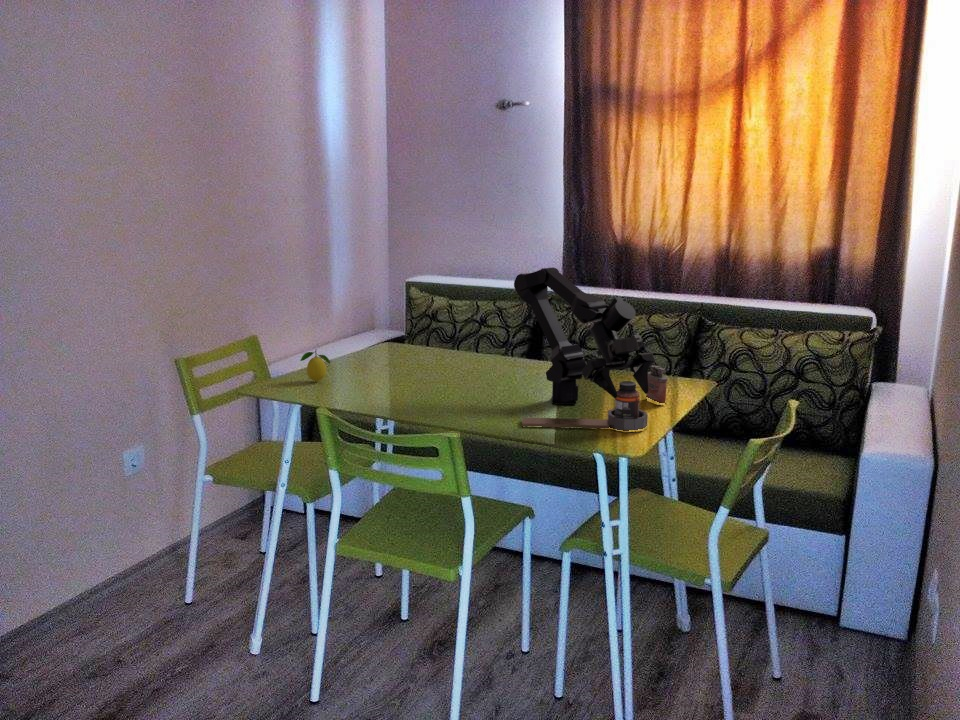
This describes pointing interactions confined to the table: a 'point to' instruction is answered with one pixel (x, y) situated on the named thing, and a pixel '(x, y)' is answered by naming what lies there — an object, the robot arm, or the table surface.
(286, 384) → the table surface
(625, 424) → the cup bracket
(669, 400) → the table surface
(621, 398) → the supplement bottle
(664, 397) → the lighter
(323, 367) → the lemon
